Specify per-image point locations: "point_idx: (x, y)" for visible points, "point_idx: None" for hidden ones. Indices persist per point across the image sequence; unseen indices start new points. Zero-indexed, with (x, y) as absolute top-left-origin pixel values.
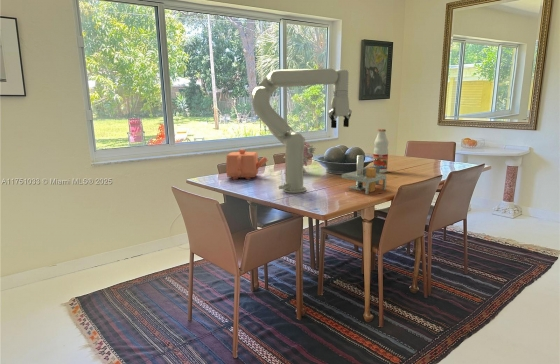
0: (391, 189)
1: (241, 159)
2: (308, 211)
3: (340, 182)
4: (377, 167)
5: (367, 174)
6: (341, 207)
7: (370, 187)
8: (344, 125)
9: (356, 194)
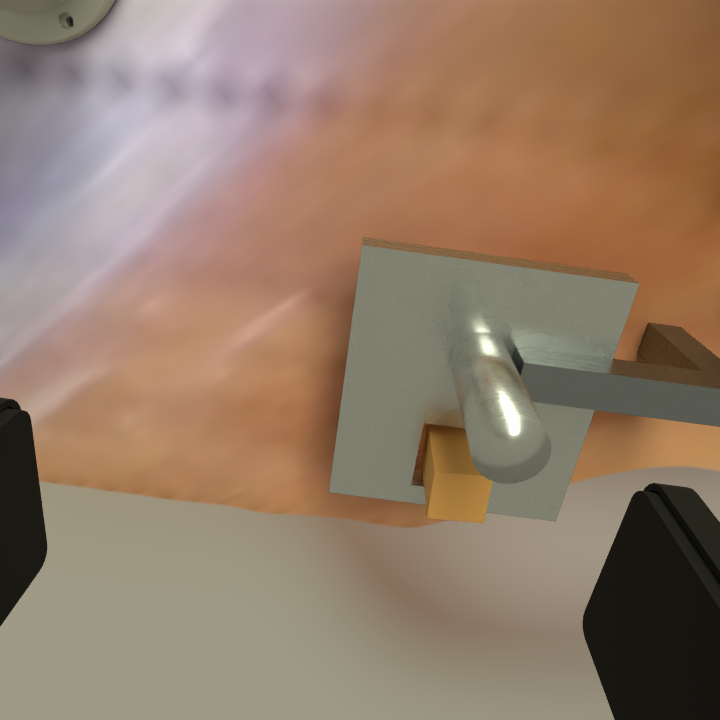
0: None
1: None
2: None
3: (561, 75)
4: (710, 421)
5: (429, 452)
6: None
7: None
8: (636, 547)
9: (294, 383)
